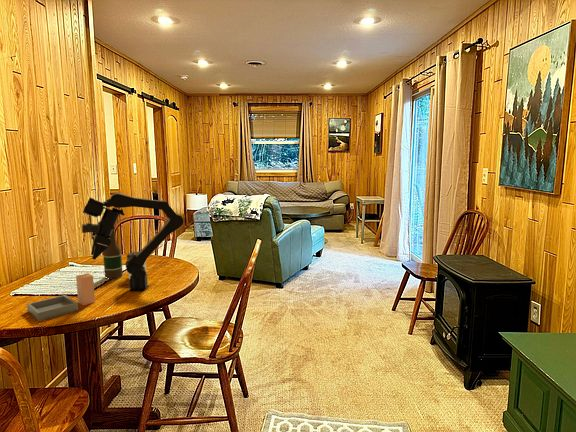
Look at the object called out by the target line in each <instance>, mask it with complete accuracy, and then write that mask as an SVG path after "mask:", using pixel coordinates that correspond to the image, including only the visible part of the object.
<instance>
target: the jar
mask: <svg viewBox="0 0 576 432" xmlns="http://www.w3.org/2000/svg"><path fill="white" fill-rule="evenodd" d="M133 252H134V253H135V254H137V253H138V252H139V251H132V252H129V253H126V254H127V255H126V259H127V258H129V257H130V256H131V254H132V253H133ZM143 267H144V268H145V270H146V271H147V260H146V261H145V263H144V265H143ZM127 273H128V272H127ZM131 275H132V274H130V273H128V280H129V279H130V276H131Z"/></svg>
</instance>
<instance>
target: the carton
mask: <svg viewBox="0 0 576 432" xmlns="http://www.w3.org/2000/svg"><path fill="white" fill-rule="evenodd" d="M75 278H76V291H77V303H78V304H79V305H81V306H87V305H91V304H94V303H96V299H95V298H96V297H95V296H96V295H95V284H94V275H93V274H91V273H89V272H87V273H84V274H78V275H75Z"/></svg>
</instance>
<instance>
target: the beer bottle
mask: <svg viewBox="0 0 576 432" xmlns="http://www.w3.org/2000/svg"><path fill="white" fill-rule="evenodd" d="M115 232H116V228H114V229H113V231H112V233H111V235H110V236H111V237H110V240H111V244H110V246H109V247H108V248H107V249H106V250H105V251H104V252H103V253H102V254H103V257H102V258H103V268H104V278H105V277H107V278H109V279H108V280H116V279H120V278H122V277H123V263H122V262H123V261H122V260H123V259H122V250H121V248H120V246H119V245H118V244H117V241H116V233H115ZM107 278H106V279H107Z"/></svg>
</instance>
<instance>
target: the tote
mask: <svg viewBox="0 0 576 432" xmlns="http://www.w3.org/2000/svg"><path fill="white" fill-rule="evenodd" d="M26 308H27V312H28V314H30V315H31V317H33V318H34V319H35V320H37V322H41V321H46V320H49V319H52V318H53V319H54V318H57V317H60V316H63V315H64V316H65V315H66V314H67V315H68V314H72V313H75V312H78V311H79V303H78V301H75V300H74V299H73V298H71V297H69V296H68V295H67V294H64V295H63V294H62V295H60V296H55V297H51V298H46V299H45V298H44V299H41V300H38V301H34V302H29V303H28V302H27V303H26ZM71 312H72V313H71ZM56 316H57V317H56Z"/></svg>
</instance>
